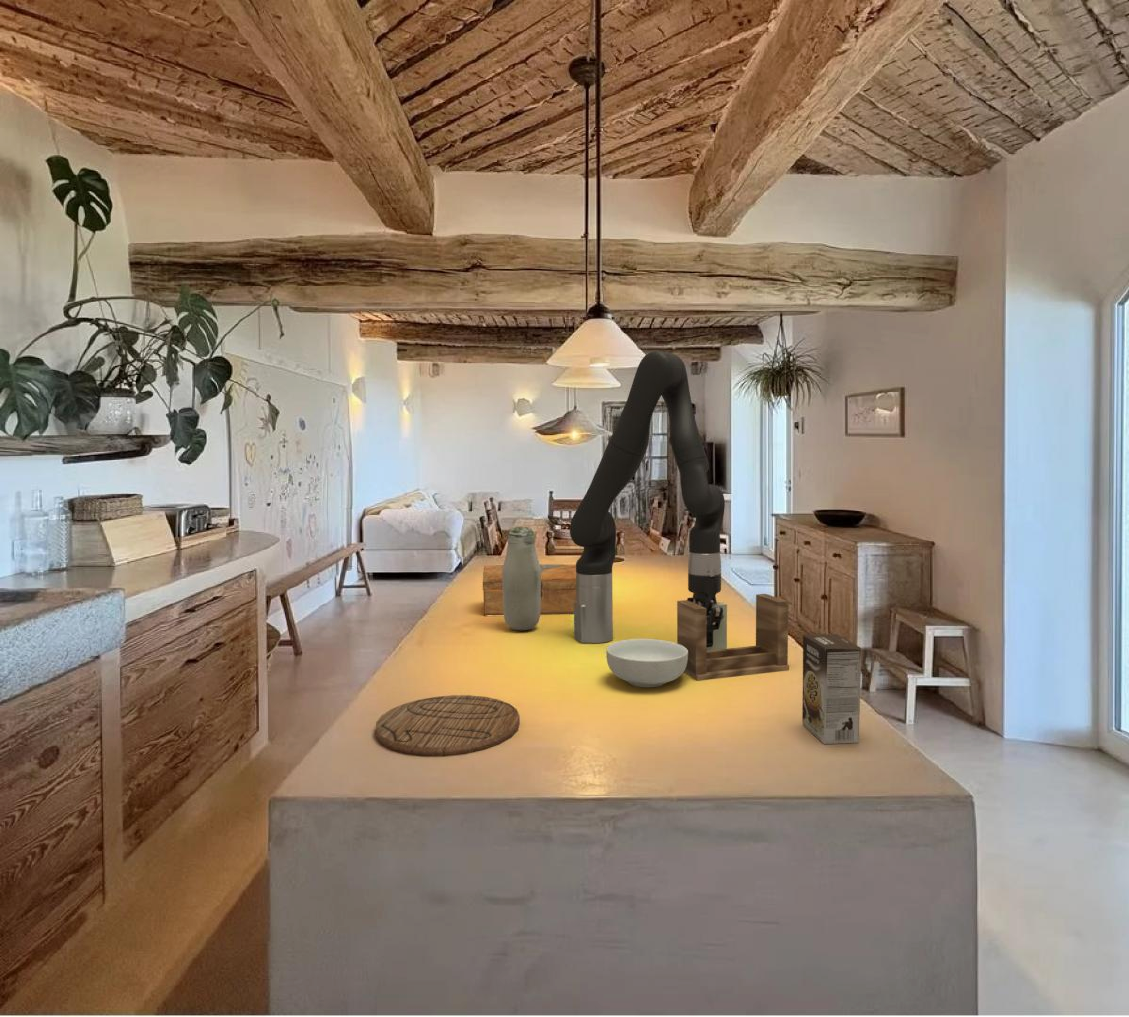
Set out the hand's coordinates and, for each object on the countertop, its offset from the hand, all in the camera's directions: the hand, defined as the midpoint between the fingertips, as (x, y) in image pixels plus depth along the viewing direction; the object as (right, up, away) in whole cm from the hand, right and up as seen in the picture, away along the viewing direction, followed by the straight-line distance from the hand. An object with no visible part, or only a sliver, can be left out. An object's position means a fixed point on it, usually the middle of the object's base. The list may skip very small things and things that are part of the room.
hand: (704, 644), depth 173 cm
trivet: (-53, -8, -42) cm, 68 cm away
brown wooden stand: (+4, -4, -10) cm, 11 cm away
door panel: (0, -3, 0) cm, 3 cm away
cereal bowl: (-15, -5, -18) cm, 24 cm away
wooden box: (-42, 0, +52) cm, 66 cm away
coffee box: (+12, -7, -47) cm, 49 cm away
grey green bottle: (-44, -1, +28) cm, 52 cm away
